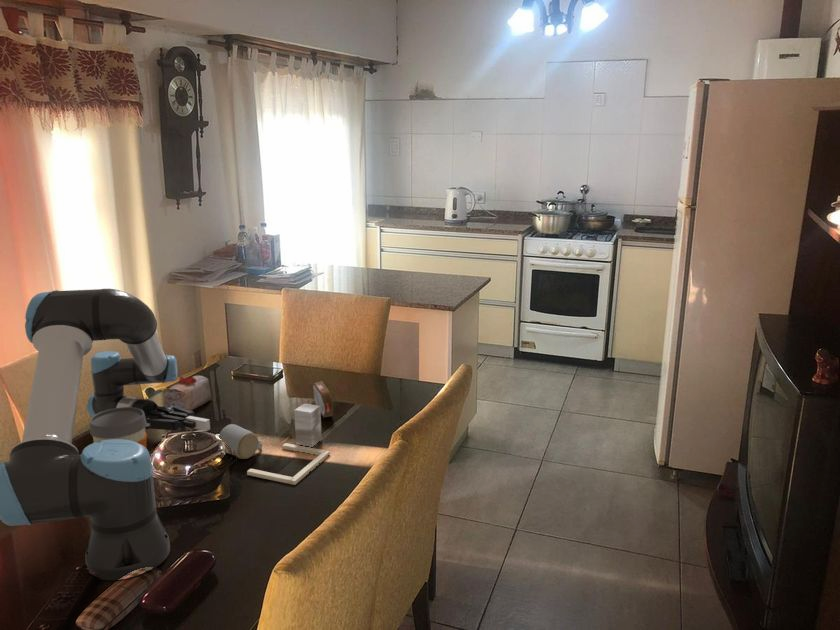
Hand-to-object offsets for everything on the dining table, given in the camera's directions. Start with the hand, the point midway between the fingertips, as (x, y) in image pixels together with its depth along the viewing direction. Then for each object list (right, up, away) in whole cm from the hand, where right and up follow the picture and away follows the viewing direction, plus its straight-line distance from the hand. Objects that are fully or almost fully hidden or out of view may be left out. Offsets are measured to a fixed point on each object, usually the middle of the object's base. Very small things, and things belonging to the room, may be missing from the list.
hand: (207, 425), depth 176 cm
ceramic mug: (+9, -7, -1) cm, 12 cm away
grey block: (+26, -6, +5) cm, 27 cm away
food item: (-15, 0, +29) cm, 33 cm away
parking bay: (+23, -9, -7) cm, 26 cm away
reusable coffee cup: (-17, -10, -12) cm, 23 cm away
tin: (+26, 0, +26) cm, 37 cm away
